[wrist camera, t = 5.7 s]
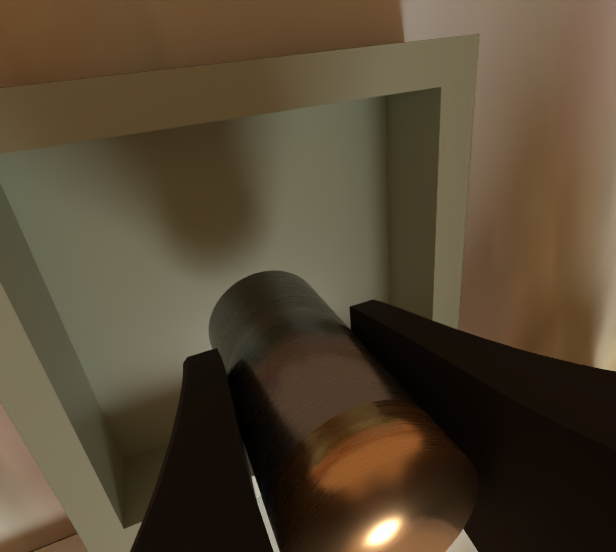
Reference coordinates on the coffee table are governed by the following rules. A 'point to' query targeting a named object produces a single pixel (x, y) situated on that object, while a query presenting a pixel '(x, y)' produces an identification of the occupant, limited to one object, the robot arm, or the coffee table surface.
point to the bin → (209, 234)
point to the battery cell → (334, 428)
